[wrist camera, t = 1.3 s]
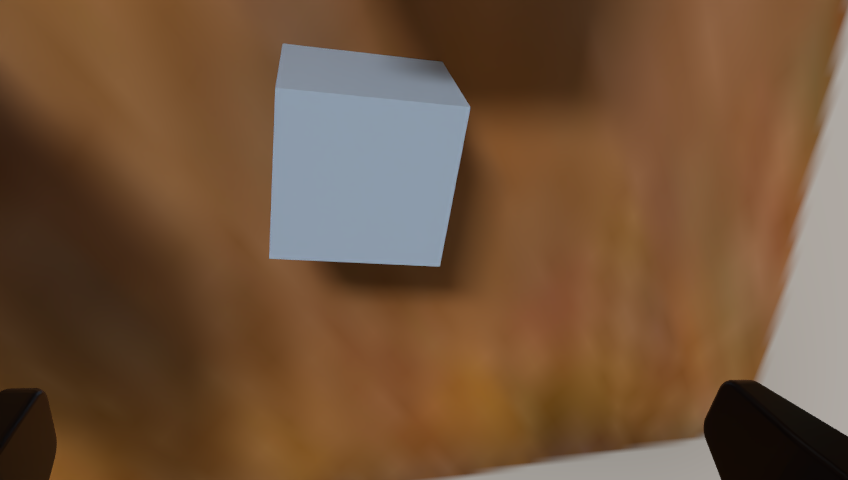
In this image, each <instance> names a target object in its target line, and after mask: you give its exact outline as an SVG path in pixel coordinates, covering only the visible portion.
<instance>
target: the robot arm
mask: <svg viewBox="0 0 848 480" xmlns="http://www.w3.org/2000/svg"><path fill="white" fill-rule="evenodd" d="M704 435H705V438H706V441H707V444H708V446H709V449H710V451H711V454H712V457H713V459H714V462H715V464H716V467H717V469H718V472H719V475H720V477H721V480H848V436H846V435H844V434H843V433H841V432H839V431H838V430H836V429H834V428H833V427H831V426H829V425H828V424H826V423H824V422H822V421H821V420H819V419H818V418H816V417H815V416H813V415H811V414H809V413H808V412H806V411H805V410H803V409H801V408H799V407H798V406H796V405H794V404H793V403H791V402H789V401H788V400H786V399H784V398H783V397H781V396H780V395H778V394H776V393H774V392H773V391H771V390H769V389H768V388H766V387H765V386H763V385H761V384H760V383H758V382H756V381H752V380H729V381H726V382H724V383H723V384H722V385H721V387H720V388H719V390H718V392H717V394H716V397H715V399H714V401H713V403H712V405H711V407H710V409H709V411H708V413H707V416H706V418H705V421H704ZM56 446H57V440H56V433H55V429H54V424H53V420H52V416H51V411H50V407H49V402H48V398H47V395H46V394H45V392H44V391H43V390H41V389H38V388H19V389H6V390H3V391H1V392H0V480H49V478H50V474H51V470H52V467H53V463H54V459H55V454H56Z"/></svg>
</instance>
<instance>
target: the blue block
mask: <svg viewBox="0 0 848 480" xmlns="http://www.w3.org/2000/svg"><path fill="white" fill-rule="evenodd" d="M469 113H470V106H469V104H468V102H467V101H466V99H465V97H464V96H463V94H462V93H461V91H460V89H459V88H458V86H457V85H456V83H455V81H454V80H453V78H452V76H451V75H450V73H449V72H448V70H447V68H446V67H445V65H444V63H443V62H440V61H431V60H422V59H413V58H405V57H396V56H387V55H378V54H369V53H360V52H352V51H343V50H334V49H325V48H316V47H308V46H299V45H290V44H283V45H282V51H281V57H280V63H279V69H278V75H277V81H276V87H275V114H274V142H273V170H272V197H271V225H270V253H269V259H289V260H310V261H331V262H352V263H373V264H394V265H415V266H436V267H440V263H441V258H442V253H443V248H444V242H445V237H446V232H447V227H448V222H449V216H450V211H451V206H452V201H453V196H454V190H455V185H456V180H457V175H458V170H459V165H460V159H461V154H462V149H463V144H464V139H465V133H466V128H467V123H468V118H469Z"/></svg>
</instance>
